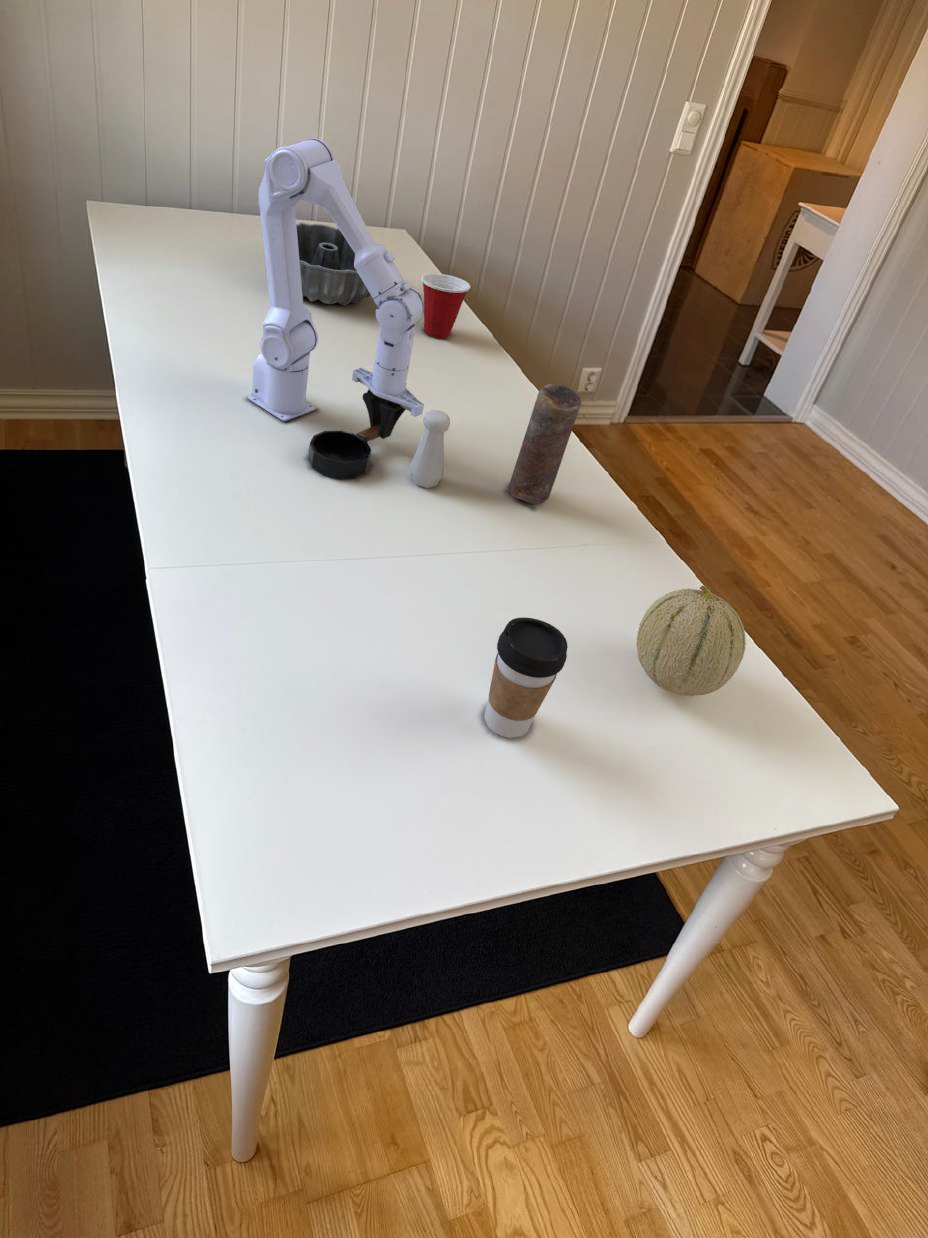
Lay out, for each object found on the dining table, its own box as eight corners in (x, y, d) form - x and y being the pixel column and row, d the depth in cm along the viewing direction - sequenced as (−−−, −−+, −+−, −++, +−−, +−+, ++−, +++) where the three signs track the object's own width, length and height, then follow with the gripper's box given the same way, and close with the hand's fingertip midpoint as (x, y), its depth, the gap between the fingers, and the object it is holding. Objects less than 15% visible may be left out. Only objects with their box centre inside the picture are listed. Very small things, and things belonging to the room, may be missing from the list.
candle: (553, 494, 156) (586, 393, 143) (542, 514, 150) (576, 410, 137) (514, 479, 157) (543, 377, 144) (501, 498, 151) (530, 394, 138)
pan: (339, 485, 144) (342, 466, 142) (296, 457, 148) (298, 438, 145) (407, 453, 156) (410, 435, 153) (365, 428, 159) (368, 410, 157)
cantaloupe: (656, 725, 118) (698, 645, 108) (603, 649, 127) (638, 570, 117) (741, 707, 124) (788, 631, 114) (685, 637, 133) (724, 560, 123)
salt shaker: (436, 494, 148) (451, 427, 140) (404, 485, 148) (416, 417, 140) (444, 477, 153) (459, 411, 144) (412, 468, 153) (425, 401, 144)
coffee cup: (472, 693, 115) (498, 609, 105) (534, 699, 117) (565, 616, 107) (477, 743, 109) (505, 658, 99) (542, 748, 110) (576, 665, 101)
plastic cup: (451, 323, 202) (462, 271, 194) (466, 345, 195) (477, 292, 187) (407, 320, 198) (415, 267, 190) (419, 342, 191) (429, 288, 183)
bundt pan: (403, 298, 207) (410, 256, 200) (332, 325, 188) (337, 279, 182) (317, 257, 215) (321, 215, 208) (240, 279, 196) (242, 233, 190)
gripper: (440, 375, 146) (426, 445, 155) (375, 339, 151) (365, 409, 160) (413, 386, 141) (400, 457, 150) (347, 348, 147) (339, 420, 155)
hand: (380, 433), depth 155 cm, fingers closed on pan, 2 cm apart
